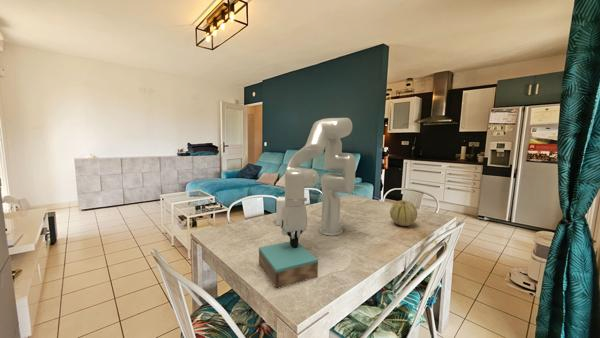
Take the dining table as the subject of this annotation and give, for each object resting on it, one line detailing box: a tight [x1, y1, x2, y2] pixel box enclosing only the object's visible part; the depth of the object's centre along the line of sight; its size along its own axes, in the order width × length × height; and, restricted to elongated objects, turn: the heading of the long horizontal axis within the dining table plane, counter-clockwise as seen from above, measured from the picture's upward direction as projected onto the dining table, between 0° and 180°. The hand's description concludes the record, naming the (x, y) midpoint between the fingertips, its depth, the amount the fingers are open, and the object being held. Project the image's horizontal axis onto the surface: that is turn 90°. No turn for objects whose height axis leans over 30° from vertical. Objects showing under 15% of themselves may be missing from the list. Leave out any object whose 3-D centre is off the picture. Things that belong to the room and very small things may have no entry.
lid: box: [258, 241, 319, 273], centre depth 92 cm, size 16×19×1 cm
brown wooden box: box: [258, 250, 319, 289], centre depth 93 cm, size 16×19×6 cm
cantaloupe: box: [389, 199, 418, 227], centre depth 142 cm, size 15×15×15 cm
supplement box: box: [275, 196, 285, 226], centre depth 143 cm, size 9×9×15 cm
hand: (294, 246), depth 98 cm, fingers closed
